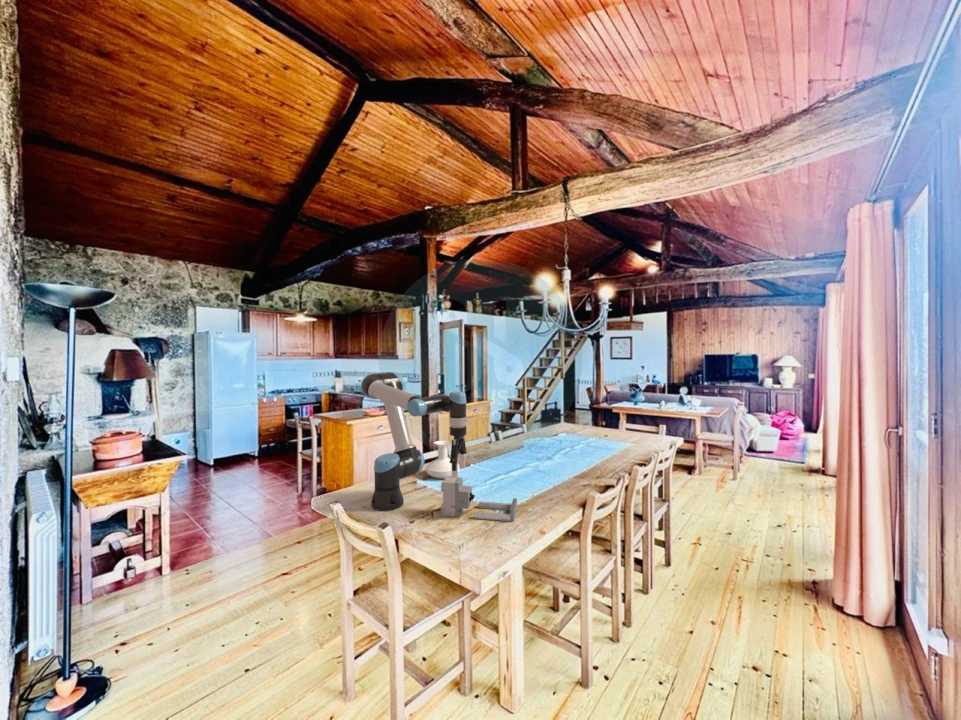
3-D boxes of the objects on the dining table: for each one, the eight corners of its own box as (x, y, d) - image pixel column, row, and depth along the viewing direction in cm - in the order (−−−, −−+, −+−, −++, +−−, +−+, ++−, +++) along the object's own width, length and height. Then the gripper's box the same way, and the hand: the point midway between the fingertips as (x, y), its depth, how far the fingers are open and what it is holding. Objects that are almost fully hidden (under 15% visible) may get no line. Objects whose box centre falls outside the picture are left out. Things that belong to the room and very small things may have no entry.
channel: (473, 518, 179) (473, 507, 179) (479, 506, 192) (479, 496, 192) (513, 521, 176) (513, 510, 176) (516, 509, 189) (516, 498, 188)
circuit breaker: (472, 517, 180) (471, 484, 179) (441, 515, 183) (440, 482, 182) (475, 510, 188) (475, 478, 187) (446, 508, 190) (445, 476, 190)
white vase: (447, 467, 252) (446, 436, 251) (467, 475, 236) (466, 442, 235) (419, 474, 239) (418, 442, 238) (438, 483, 224) (437, 449, 223)
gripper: (459, 432, 171) (460, 482, 172) (472, 421, 195) (472, 464, 196) (442, 432, 172) (442, 481, 173) (456, 420, 197) (457, 464, 198)
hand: (458, 472), depth 185 cm, fingers open, 13 cm apart
